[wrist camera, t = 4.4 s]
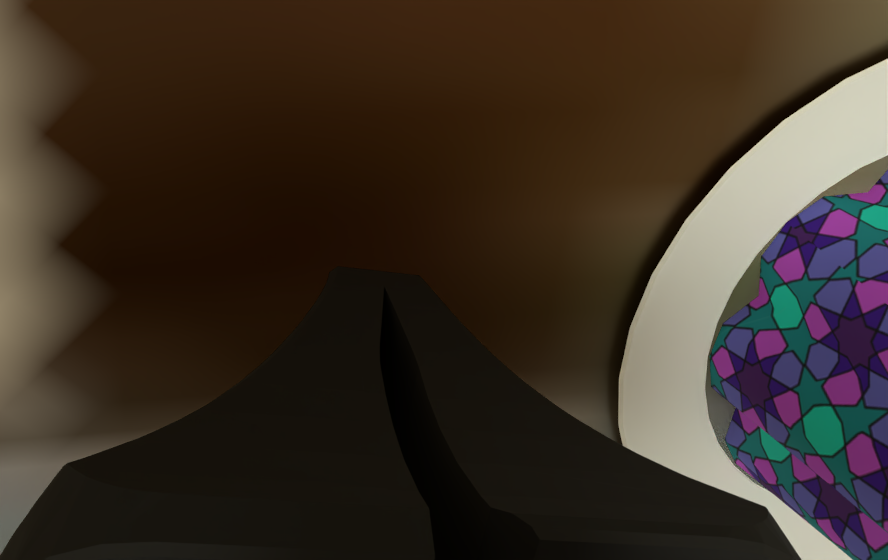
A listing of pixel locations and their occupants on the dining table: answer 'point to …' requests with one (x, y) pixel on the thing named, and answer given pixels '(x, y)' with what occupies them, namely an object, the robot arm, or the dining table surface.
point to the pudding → (780, 332)
